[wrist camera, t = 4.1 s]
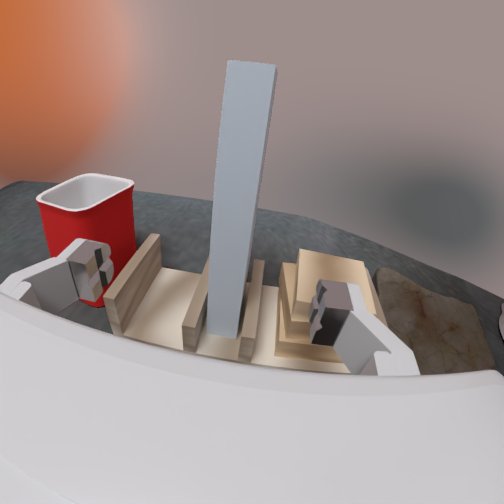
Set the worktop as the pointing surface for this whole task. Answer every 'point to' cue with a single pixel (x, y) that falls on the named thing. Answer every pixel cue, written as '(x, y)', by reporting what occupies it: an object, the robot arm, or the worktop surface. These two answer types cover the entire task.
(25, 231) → the worktop surface
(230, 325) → the tall board
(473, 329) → the brown flat slab
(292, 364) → the offcut rack
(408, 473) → the robot arm
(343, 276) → the offcut stack
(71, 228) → the mug
